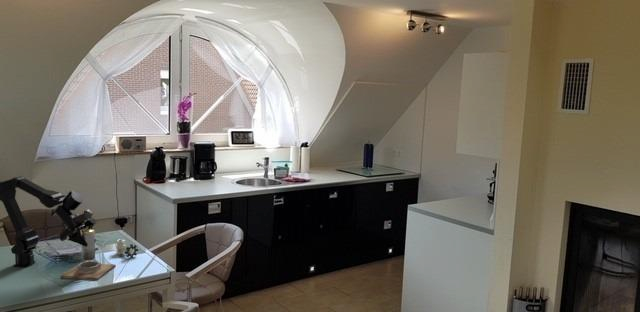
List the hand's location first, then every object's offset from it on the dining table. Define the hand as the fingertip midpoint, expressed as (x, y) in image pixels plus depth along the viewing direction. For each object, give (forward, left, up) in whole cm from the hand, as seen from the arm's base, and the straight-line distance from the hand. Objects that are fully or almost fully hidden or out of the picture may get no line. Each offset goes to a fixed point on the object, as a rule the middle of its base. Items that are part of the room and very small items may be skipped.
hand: (91, 244), depth 218 cm
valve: (+4, +24, -13) cm, 28 cm away
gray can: (-1, 0, -7) cm, 7 cm away
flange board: (-1, 0, -13) cm, 13 cm away
